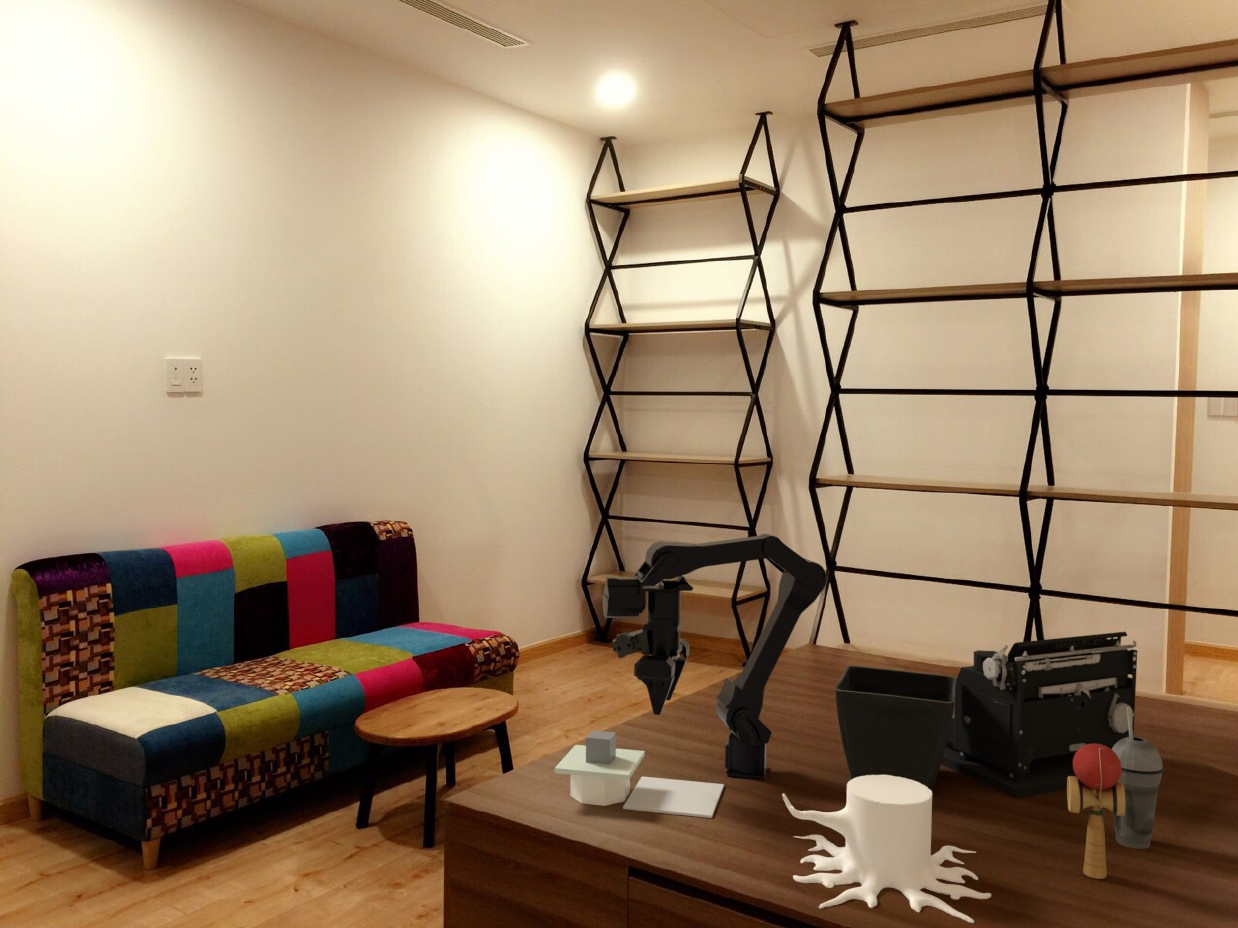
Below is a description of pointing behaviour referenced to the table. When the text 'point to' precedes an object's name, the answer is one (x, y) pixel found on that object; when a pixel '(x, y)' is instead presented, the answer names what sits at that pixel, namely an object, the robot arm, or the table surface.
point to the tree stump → (885, 846)
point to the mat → (675, 797)
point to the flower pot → (894, 722)
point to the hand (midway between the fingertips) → (662, 707)
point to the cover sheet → (600, 769)
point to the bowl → (598, 790)
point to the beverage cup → (1137, 789)
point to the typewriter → (1040, 710)
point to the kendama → (1096, 799)
